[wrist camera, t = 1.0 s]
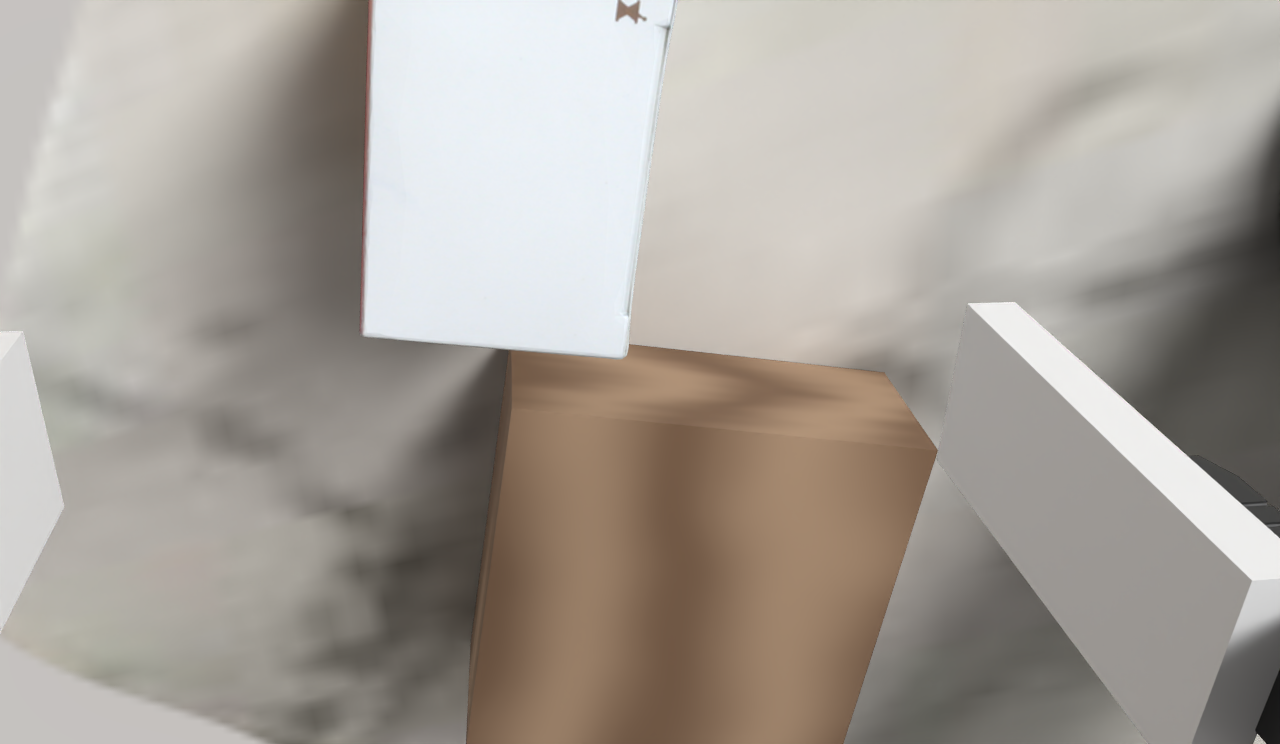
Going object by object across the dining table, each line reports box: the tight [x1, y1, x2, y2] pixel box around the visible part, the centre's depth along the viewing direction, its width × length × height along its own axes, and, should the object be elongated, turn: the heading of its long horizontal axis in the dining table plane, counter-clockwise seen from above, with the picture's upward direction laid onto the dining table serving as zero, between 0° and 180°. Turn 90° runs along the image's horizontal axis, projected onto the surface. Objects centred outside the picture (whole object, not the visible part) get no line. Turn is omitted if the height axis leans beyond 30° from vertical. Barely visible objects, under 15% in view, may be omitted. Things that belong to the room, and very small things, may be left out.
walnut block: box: [466, 344, 938, 744], centre depth 35 cm, size 12×12×5 cm
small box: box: [359, 0, 678, 360], centre depth 26 cm, size 8×6×10 cm
